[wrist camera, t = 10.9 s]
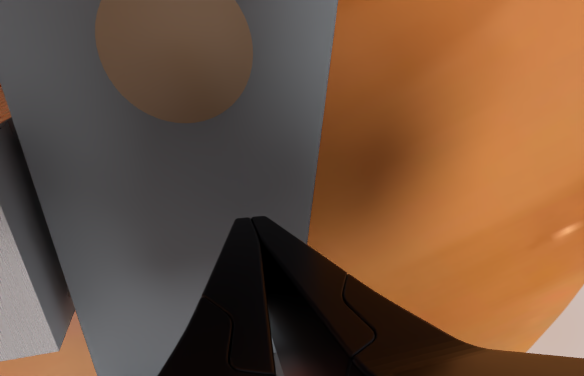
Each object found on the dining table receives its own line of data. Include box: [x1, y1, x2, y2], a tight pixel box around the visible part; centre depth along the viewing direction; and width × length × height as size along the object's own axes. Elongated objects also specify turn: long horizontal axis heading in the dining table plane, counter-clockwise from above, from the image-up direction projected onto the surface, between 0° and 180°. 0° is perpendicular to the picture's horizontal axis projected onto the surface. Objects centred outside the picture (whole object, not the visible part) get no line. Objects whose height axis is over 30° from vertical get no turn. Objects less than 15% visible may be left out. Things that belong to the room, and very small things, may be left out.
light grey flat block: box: [0, 88, 75, 361], centre depth 9 cm, size 6×5×2 cm
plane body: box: [0, 0, 338, 376], centre depth 11 cm, size 17×7×6 cm, turn 175°
